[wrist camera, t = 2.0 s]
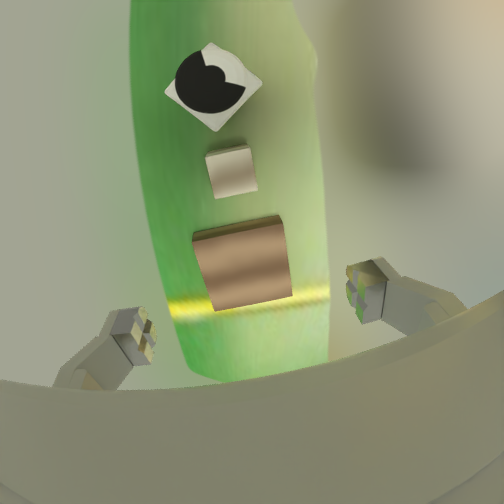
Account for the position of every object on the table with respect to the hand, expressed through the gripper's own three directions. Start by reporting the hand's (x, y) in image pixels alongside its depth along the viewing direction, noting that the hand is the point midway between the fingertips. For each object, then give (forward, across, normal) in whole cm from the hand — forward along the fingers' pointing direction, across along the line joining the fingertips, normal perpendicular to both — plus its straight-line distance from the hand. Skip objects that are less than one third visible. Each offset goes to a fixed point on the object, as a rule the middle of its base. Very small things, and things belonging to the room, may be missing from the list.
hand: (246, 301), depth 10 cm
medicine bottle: (+27, 0, -10) cm, 29 cm away
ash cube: (+27, 0, 0) cm, 27 cm away
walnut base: (+27, +1, +14) cm, 30 cm away
